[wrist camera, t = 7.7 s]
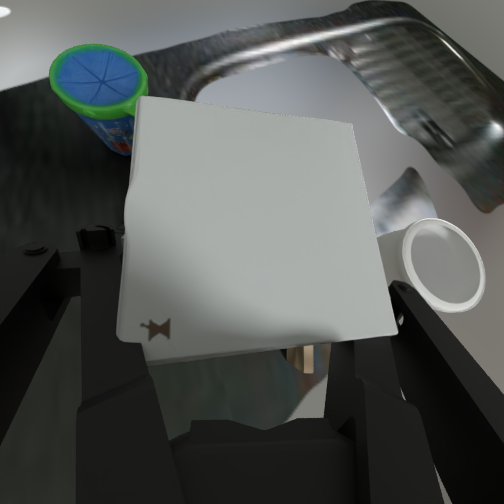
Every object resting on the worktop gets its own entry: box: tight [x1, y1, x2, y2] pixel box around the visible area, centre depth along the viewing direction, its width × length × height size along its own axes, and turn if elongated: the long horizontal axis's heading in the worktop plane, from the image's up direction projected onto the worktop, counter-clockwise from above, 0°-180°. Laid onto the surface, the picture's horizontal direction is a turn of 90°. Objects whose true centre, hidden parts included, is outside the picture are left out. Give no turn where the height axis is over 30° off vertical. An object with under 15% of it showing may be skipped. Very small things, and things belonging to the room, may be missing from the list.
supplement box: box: [116, 96, 398, 366], centre depth 14 cm, size 9×9×15 cm
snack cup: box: [49, 44, 148, 156], centre depth 30 cm, size 16×10×10 cm
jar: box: [377, 218, 486, 312], centre depth 29 cm, size 11×10×15 cm
